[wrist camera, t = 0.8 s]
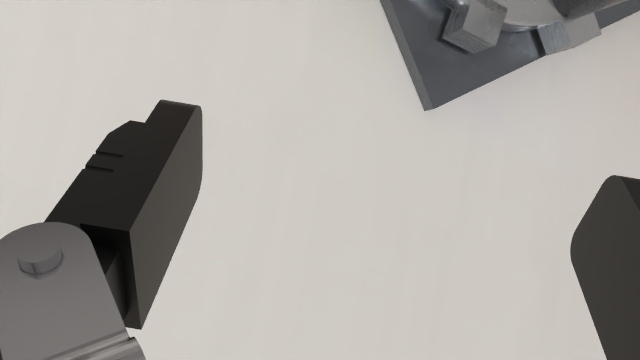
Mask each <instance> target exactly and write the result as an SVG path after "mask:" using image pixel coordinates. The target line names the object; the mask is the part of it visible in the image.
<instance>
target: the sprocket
mask: <svg viewBox="0 0 640 360" xmlns="http://www.w3.org/2000/svg"><path fill="white" fill-rule="evenodd" d="M439 1H440V2H441V3H442V4H444V5H445V6H446V7H448V8H449V9H450V10H451V12H450V15H449V18H448V21H447V24H446V27H445V30H444V33H443V36H442V38H443V39H445V40H447V41H449V42H451V43H453V44H455V45H457V46H459V47H461V48H463V49H465V50H467V51H469V52H471V53H473V54H474V53H476V52H479V51H482V50H485V49H487V48H490V47H493V46H496V43H497V40H498V37H499V34H500V31H508V32H516V31H528V30H533V29H537V30H538V33H539V36H540V39H541V41H542V44H543V47H544V50H545V52H546V55H550V54H554V53H557V52H561V51H564V50H568V49H571V48H574V47H576V46H578V45H580V44H582V43H584V42H587V41H589V40H591V39H593V38H595V37H597V36H599V35H601V31H600V28H599V26H598V23H597V20H596V17H595V14H594V12H596V11H599V10H602V9H605V8H608V7H610V6H613V5H616V4H619V3H622V2H625V1H627V0H439Z"/></svg>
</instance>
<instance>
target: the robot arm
mask: <svg viewBox="0 0 640 360" xmlns="http://www.w3.org/2000/svg"><path fill="white" fill-rule="evenodd" d="M201 180H202V110H201V107H200V106H198V105H192V104H185V103H179V102H173V101H167V100H160V101H159V102H158V104H157V105H156V107H155V108H154V110H153V111H152V113H151V114H150V116H149V117H148V119H147V120H146V122H145V123H143V122H137V121H131V120H130V121H128V122H127V123H125V124H123V125H122V126H120V127H118V128H117V129H115V130H114V131H112V132H110V133H109V134H108V135H107V136H106V138H105V139H104V140H103V142H102V143H101V144H100V146H99V147H98V149H97V150H96V154H93V155H92V157H91V158H90V160H89V161H88V162H87V164H86V167H85V169H82V171H81V172H80V173H79V175H78V176H77V177H76V179H75V180H74V182H73V183H72V184H71V186H70V187H69V188H68V190H67V191H66V192H65V194H64V195H63V197H62V198H61V199H60V201H59V202H58V203H57V205H56V206H55V208H54V209H53V210H52V212H51V213H50V214H49V216H48V217H47V219H46V220H45V221H44V222H43V223H36V224H31V225H28V226H25V227H22V228H19V229H17V230H15V231H13V232H11V233H9V234H7V235H6V236H4V237H3V238H2V239H0V360H146V359H145V356H144V354H143V352H142V349H141V347H140V345H139V343H138V341H137V340H136V338H135V337H131V338H130V337H129V335H128V333H127V330H126V328H125V327H128V328H134V329H140V330H141V329H142V327H143V325H144V322H145V320H146V317H147V315H148V313H149V310H150V308H151V306H152V303H153V301H154V299H155V296H156V294H157V292H158V289H159V287H160V285H161V282H162V280H163V277H164V275H165V273H166V270H167V268H168V266H169V263H170V261H171V259H172V256H173V254H174V252H175V249H176V247H177V245H178V242H179V240H180V237H181V235H182V233H183V230H184V228H185V226H186V223H187V221H188V219H189V216H190V214H191V212H192V209H193V207H194V205H195V202H196V200H197V197H198V194H199V190H200V185H201ZM570 253H571V261H572V264H573V267H574V270H575V272H576V275H577V278H578V281H579V283H580V286H581V289H582V292H583V294H584V297H585V300H586V303H587V306H588V308H589V311H590V314H591V317H592V319H593V322H594V325H595V328H596V330H597V333H598V336H599V339H600V341H601V344H602V347H603V350H604V353H605V355H606V358H607V360H640V179H635V178H629V177H623V176H616V175H613V176H610V177H609V178H607V179H606V180H605V181H604V183H603V184H602V186H601V188H600V189H599V191H598V193H597V194H596V196H595V198H594V200H593V201H592V203H591V205H590V206H589V208H588V210H587V211H586V213H585V215H584V217H583V218H582V220H581V222H580V223H579V225H578V227H577V228H576V230H575V232H574V235H573V238H572V242H571V250H570Z"/></svg>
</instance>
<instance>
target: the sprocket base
mask: <svg viewBox="0 0 640 360" xmlns="http://www.w3.org/2000/svg"><path fill="white" fill-rule="evenodd" d="M380 2H381V4H382V7H383V9H384V12H385V14H386V17H387V19H388V21H389V24H390V26H391V29H392V31H393V34H394V36H395V39H396V41H397V44H398V46H399V49H400V51H401V54H402V56H403V59H404V61H405V64H406V66H407V68H408V71H409V73H410V76H411V78H412V81H413V83H414V86H415V88H416V91H417V93H418V96H419V98H420V101H421V103H422V106H423V108H424V111H426V110H431V109H435V108H437V107H439V106H441V105H443V104H445V103H447V102H449V101H451V100H453V99H455V98H458V97H460V96H462V95H464V94H466V93H468V92H470V91H472V90H474V89H476V88H478V87H481V86H483V85H485V84H487V83H489V82H491V81H493V80H495V79H497V78H499V77H501V76H504V75H506V74H508V73H510V72H512V71H514V70H516V69H518V68H520V67H522V66H524V65H527V64H529V63H531V62H533V61H535V60H537V59H539V58H541V57H543V56H545V55H546V52H545V50H544V47H543V44H542V41H541V39H540V36H539V33H538V30H537V29H533V30H528V31H516V32H508V31H500V34H499V37H498V40H497V43H496V46H493V47H490V48H487V49H485V50H482V51H479V52H476V53H474V54H473V53H471V52H469V51H467V50H465V49H463V48H461V47H459V46H457V45H455V44H453V43H451V42H449V41H447V40H445V39H443V38H442V36H443V33H444V30H445V27H446V24H447V21H448V18H449V15H450V12H451V10H450V9H449V8H448V7H446V6H445V5H444V4H442V3H441V2H440V1H439V0H380ZM639 10H640V0H627V1H625V2H622V3H619V4H616V5H613V6H610V7H608V8H605V9H602V10H599V11H596V12H594V14H595V17H596V20H597V23H598V26H599V28H600V29H602V28H604V27H606V26H608V25H610V24H612V23H614V22H616V21H619V20H621V19H623V18H625V17H627V16H629V15H631V14H633V13H635V12H637V11H639Z"/></svg>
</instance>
